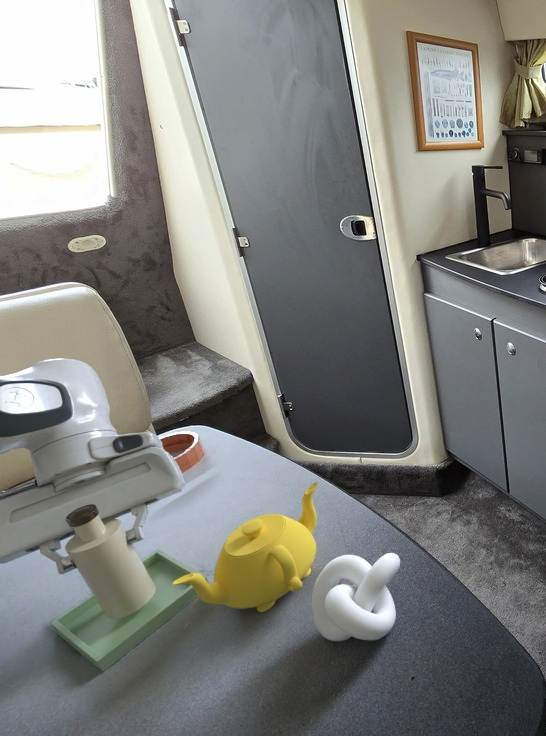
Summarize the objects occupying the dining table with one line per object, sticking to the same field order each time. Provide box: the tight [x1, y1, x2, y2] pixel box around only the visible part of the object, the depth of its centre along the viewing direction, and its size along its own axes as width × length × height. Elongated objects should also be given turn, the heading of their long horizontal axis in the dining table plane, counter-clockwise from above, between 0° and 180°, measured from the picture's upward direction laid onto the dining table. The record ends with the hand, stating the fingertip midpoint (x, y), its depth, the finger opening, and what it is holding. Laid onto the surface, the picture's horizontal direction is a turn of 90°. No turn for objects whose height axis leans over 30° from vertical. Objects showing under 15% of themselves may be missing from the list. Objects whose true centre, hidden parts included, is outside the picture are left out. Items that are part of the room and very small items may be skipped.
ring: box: [158, 431, 205, 474], centre depth 100 cm, size 11×12×5 cm
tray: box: [49, 548, 210, 673], centre depth 73 cm, size 13×13×2 cm
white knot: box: [310, 552, 401, 642], centre depth 68 cm, size 11×12×9 cm
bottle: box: [64, 504, 156, 619], centre depth 69 cm, size 6×6×17 cm
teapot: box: [173, 481, 319, 613], centre depth 74 cm, size 20×15×12 cm
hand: (104, 555), depth 68 cm, fingers closed on bottle, 5 cm apart
